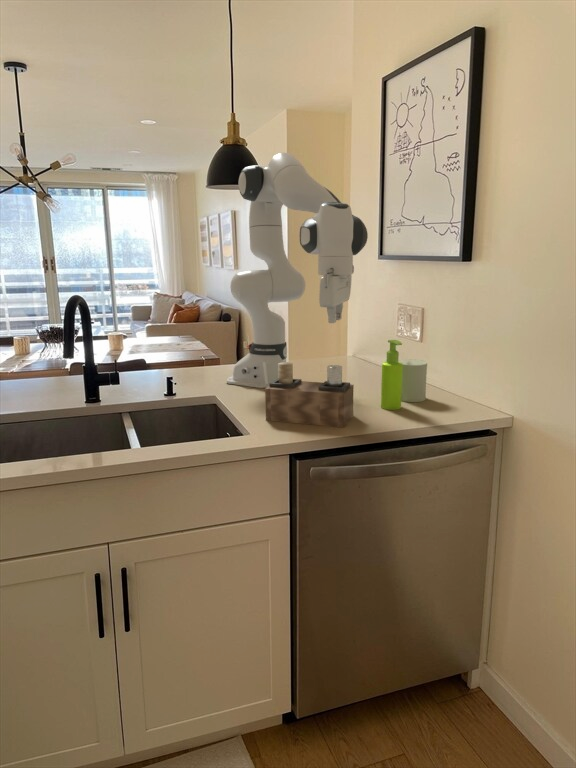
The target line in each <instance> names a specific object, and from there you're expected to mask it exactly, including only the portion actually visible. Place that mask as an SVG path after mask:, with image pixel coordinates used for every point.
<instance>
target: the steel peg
mask: <svg viewBox="0 0 576 768" xmlns="http://www.w3.org/2000/svg"><path fill="white" fill-rule="evenodd" d="M326 368H327V370H326V372H327V373H326V381H327V387H342V382H343V366H342V365H337V364H331V365H327V367H326Z"/></svg>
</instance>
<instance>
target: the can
mask: <svg viewBox="0 0 576 768" xmlns="http://www.w3.org/2000/svg"><path fill="white" fill-rule="evenodd" d="M398 362H399V363H402V364H403V368H402V395H401V402H405V403H420V402H421V403H422V402H424V401H426V399H427V397H426V395H427V394H426V393H427V391H426V390H427V373H428V371H427V369H428V362H427V361H426V360H422V359H421V360H420V359H413V358H412V359H400V360H398Z"/></svg>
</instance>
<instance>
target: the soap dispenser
mask: <svg viewBox="0 0 576 768" xmlns="http://www.w3.org/2000/svg"><path fill="white" fill-rule="evenodd" d="M387 342H388V343H389V350H387V351H386V361H384V362H382V363H381V385H380V386H381V388H380V389H381V392H380V393H381V396H380V408H381V409H384V410H389V411H395V410H400V409H402V401H401V395H402V368H403V364H402V363H399V362H398V361H399V355H400V354H399V351H398V350H397V346H402V345H403V343H402V342H401V341H400V340H396V339H388V340H387Z"/></svg>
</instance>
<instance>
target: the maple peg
mask: <svg viewBox="0 0 576 768" xmlns="http://www.w3.org/2000/svg"><path fill="white" fill-rule="evenodd" d="M293 365H294V363H292V362H289V361H288V362H287V361H286V362H283V363H278V380H279V383H284V384H292V383H293V379H294V375H293V374H294V372H293V371H294V369H293V368H294V366H293Z"/></svg>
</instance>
